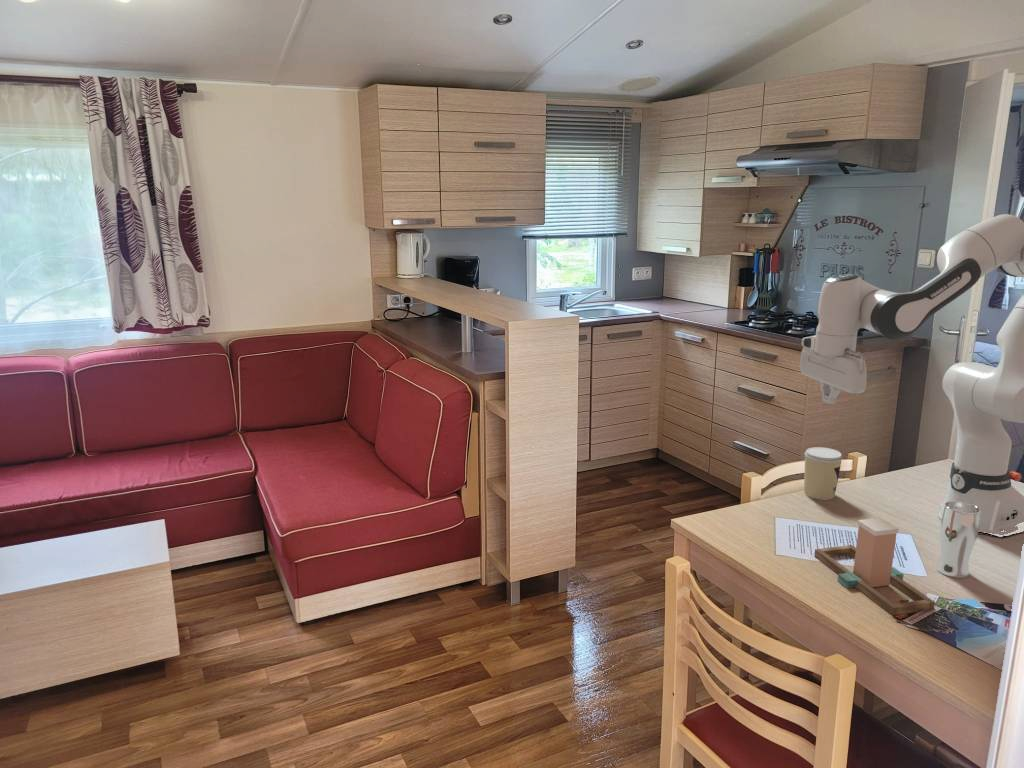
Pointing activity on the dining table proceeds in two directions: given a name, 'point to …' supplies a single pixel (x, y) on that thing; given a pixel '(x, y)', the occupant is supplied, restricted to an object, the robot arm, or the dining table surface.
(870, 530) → the block
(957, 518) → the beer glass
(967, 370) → the robot arm
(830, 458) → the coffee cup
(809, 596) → the dining table surface
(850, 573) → the open rectangular frame
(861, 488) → the dining table surface
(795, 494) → the dining table surface
